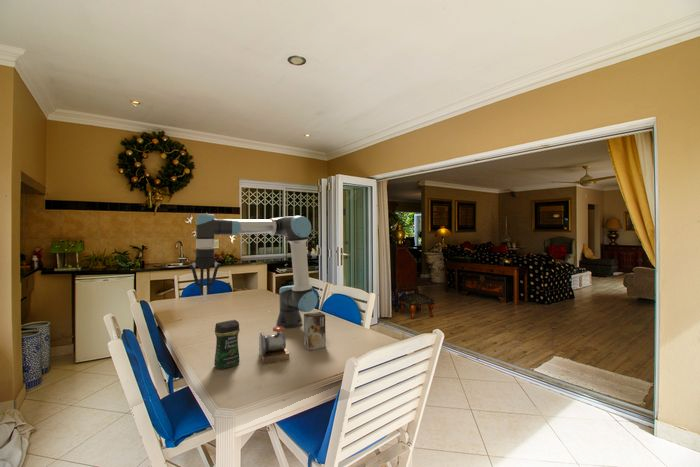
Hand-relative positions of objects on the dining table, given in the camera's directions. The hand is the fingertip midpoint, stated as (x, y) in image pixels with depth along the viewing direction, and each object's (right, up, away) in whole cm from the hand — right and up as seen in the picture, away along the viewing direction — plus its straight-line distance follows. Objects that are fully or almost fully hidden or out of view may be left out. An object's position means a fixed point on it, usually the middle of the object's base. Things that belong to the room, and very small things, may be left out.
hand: (205, 300), depth 142 cm
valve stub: (+31, -25, -1) cm, 40 cm away
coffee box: (+48, -25, +12) cm, 55 cm away
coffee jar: (+14, -25, -9) cm, 30 cm away
